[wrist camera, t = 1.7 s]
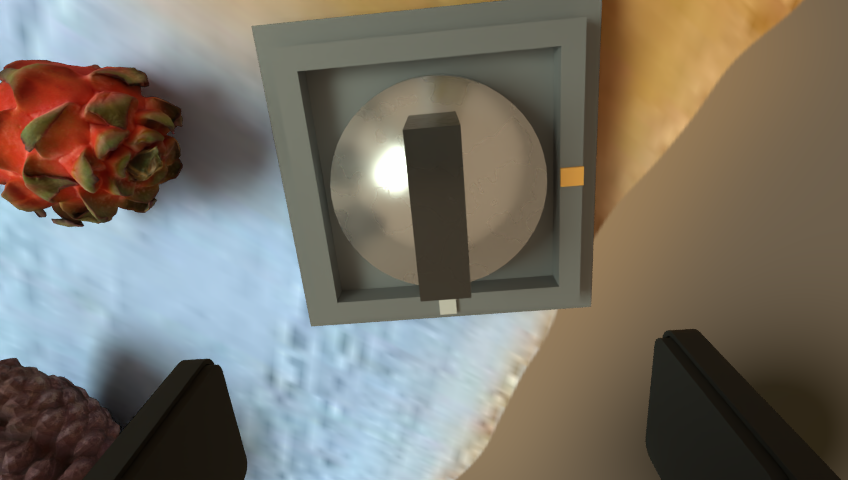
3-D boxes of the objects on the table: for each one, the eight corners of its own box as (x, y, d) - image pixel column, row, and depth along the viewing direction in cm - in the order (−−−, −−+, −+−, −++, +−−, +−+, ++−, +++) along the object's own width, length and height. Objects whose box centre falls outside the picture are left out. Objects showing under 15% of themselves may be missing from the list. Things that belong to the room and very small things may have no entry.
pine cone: (-3, 331, 34) (-166, 435, 25) (132, 312, 33) (15, 412, 24) (96, 514, 40) (-5, 653, 31) (211, 502, 40) (143, 640, 30)
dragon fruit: (238, 125, 30) (78, 148, 33) (143, -3, 23) (-51, 39, 26) (198, 241, 26) (16, 258, 28) (66, 126, 19) (-160, 161, 21)
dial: (321, 84, 26) (284, 95, 20) (538, 64, 26) (574, 67, 19) (352, 279, 30) (330, 340, 24) (540, 265, 30) (570, 324, 23)
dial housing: (261, 27, 27) (238, 24, 24) (593, -7, 26) (614, -15, 23) (316, 314, 33) (304, 341, 30) (584, 295, 32) (600, 321, 29)
